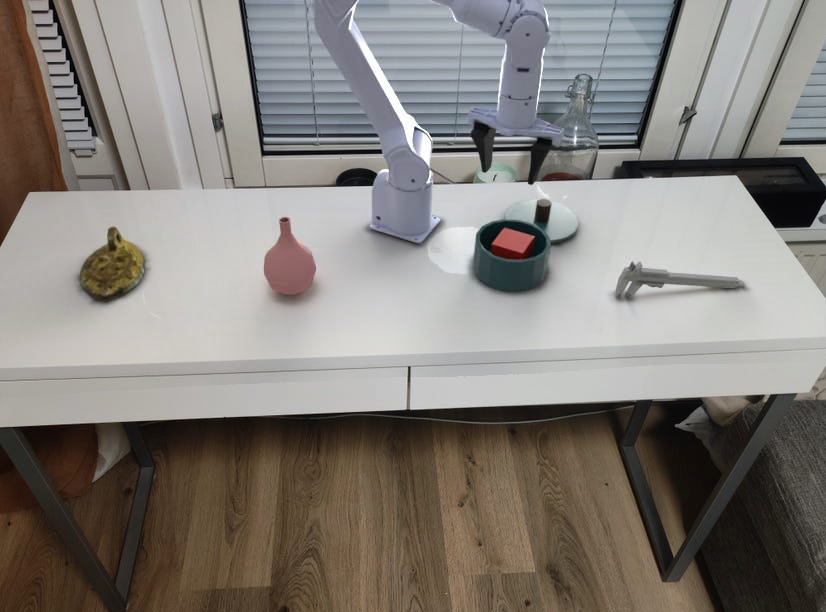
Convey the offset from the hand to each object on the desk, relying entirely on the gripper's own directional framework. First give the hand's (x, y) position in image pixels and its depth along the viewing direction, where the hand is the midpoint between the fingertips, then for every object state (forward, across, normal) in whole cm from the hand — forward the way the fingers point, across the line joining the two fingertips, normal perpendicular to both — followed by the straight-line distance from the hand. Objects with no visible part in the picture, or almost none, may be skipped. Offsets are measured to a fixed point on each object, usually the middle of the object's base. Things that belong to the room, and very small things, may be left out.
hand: (509, 175), depth 118 cm
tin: (+10, +5, -9) cm, 15 cm away
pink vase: (+10, -22, -29) cm, 38 cm away
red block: (+10, +5, -9) cm, 14 cm away
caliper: (+11, +30, -2) cm, 32 cm away
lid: (+10, +5, +5) cm, 12 cm away
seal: (+10, -48, -39) cm, 63 cm away
